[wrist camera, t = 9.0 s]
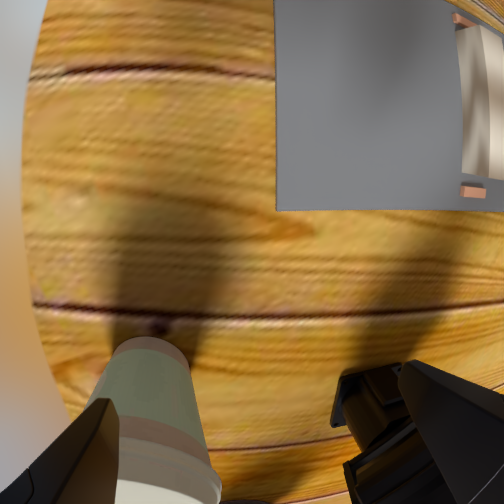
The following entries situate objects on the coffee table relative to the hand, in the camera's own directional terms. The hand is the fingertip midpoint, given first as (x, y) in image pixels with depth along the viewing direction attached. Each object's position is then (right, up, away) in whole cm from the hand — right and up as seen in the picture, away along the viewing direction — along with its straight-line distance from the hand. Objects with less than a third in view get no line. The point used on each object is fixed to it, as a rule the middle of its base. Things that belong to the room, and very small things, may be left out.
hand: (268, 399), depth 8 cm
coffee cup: (-8, -4, +13) cm, 16 cm away
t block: (+21, +16, +11) cm, 29 cm away
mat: (+15, +16, +10) cm, 24 cm away
